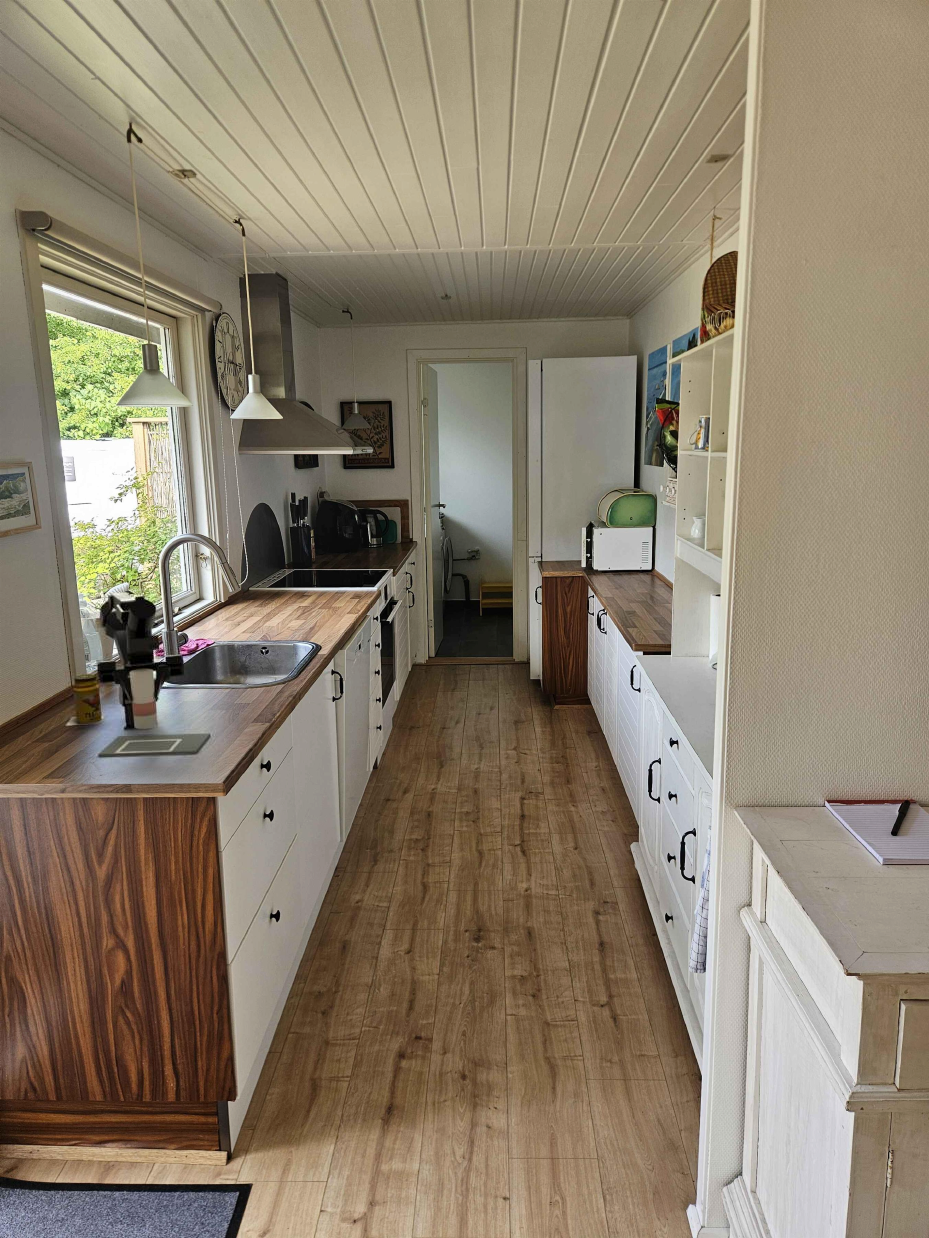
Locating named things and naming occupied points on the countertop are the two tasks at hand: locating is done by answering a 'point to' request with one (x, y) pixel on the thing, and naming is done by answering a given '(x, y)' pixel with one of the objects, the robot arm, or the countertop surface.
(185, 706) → the countertop surface
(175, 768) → the countertop surface
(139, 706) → the player figure
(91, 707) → the condiment
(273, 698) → the countertop surface
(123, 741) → the mat
